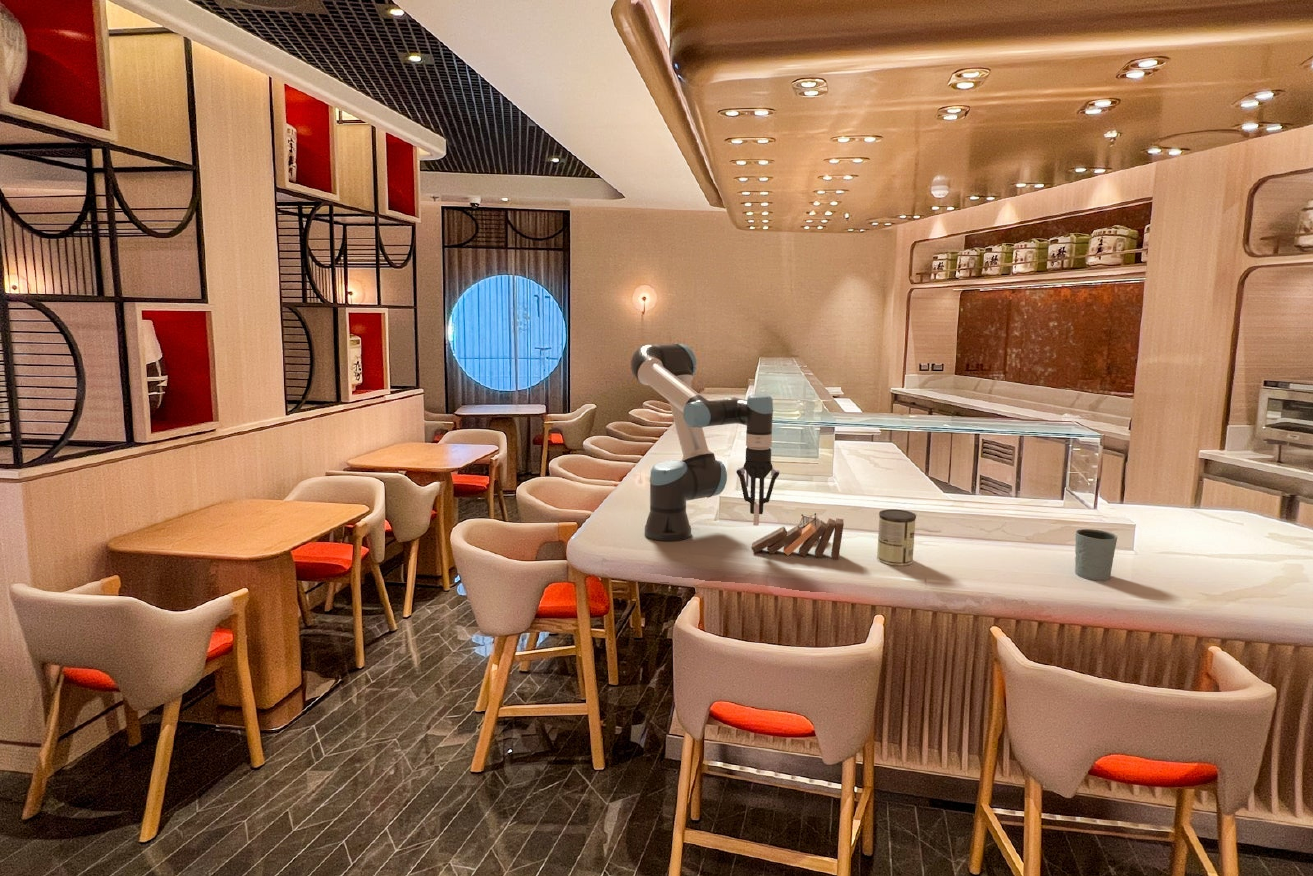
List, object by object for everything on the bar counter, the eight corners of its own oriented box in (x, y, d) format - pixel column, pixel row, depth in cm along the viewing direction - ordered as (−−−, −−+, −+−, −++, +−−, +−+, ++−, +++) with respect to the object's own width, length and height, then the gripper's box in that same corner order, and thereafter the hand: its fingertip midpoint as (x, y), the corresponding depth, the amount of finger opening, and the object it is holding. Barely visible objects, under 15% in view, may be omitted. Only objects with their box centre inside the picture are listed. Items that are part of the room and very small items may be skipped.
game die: (814, 551, 243) (825, 532, 236) (789, 540, 244) (800, 521, 237) (820, 531, 249) (831, 512, 242) (796, 521, 250) (806, 502, 243)
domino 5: (814, 555, 225) (829, 522, 222) (814, 550, 230) (829, 518, 227) (821, 558, 225) (835, 525, 222) (821, 553, 229) (835, 520, 227)
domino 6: (831, 558, 224) (836, 523, 222) (831, 553, 229) (836, 518, 227) (838, 559, 224) (843, 524, 222) (837, 554, 228) (843, 519, 226)
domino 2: (767, 549, 228) (797, 529, 225) (768, 544, 232) (797, 524, 229) (771, 554, 228) (801, 535, 225) (772, 549, 232) (801, 530, 229)
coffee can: (877, 552, 230) (880, 507, 228) (913, 556, 227) (916, 511, 224) (875, 563, 221) (878, 516, 218) (912, 567, 217) (916, 520, 215)
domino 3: (783, 551, 227) (810, 527, 224) (784, 546, 231) (810, 522, 229) (787, 556, 227) (815, 532, 224) (788, 550, 231) (815, 527, 228)
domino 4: (798, 553, 226) (820, 524, 223) (799, 548, 231) (820, 520, 228) (804, 557, 226) (826, 528, 223) (804, 551, 230) (826, 524, 228)
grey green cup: (1095, 583, 206) (1100, 541, 204) (1062, 571, 215) (1067, 530, 213) (1121, 578, 210) (1126, 536, 208) (1087, 567, 219) (1092, 526, 217)
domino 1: (751, 547, 229) (783, 531, 226) (752, 542, 233) (783, 526, 230) (754, 553, 229) (786, 536, 226) (755, 548, 233) (787, 531, 231)
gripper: (735, 448, 223) (733, 526, 227) (780, 450, 220) (777, 529, 225) (738, 444, 230) (735, 519, 234) (781, 446, 228) (778, 522, 232)
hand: (756, 524), depth 230 cm, fingers closed
